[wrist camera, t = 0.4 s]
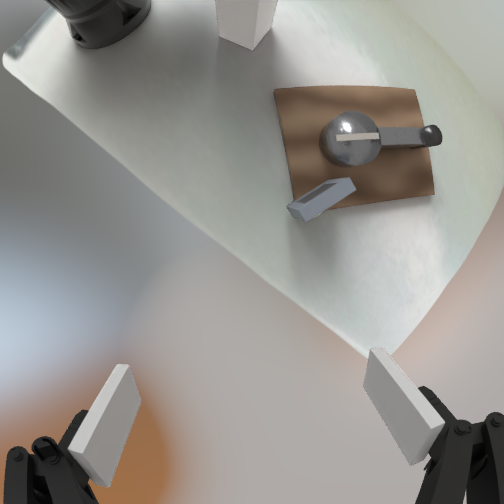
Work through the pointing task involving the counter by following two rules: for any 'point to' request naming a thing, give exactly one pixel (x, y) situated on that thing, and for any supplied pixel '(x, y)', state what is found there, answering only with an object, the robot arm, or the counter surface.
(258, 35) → the milk
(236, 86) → the counter surface
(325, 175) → the stand board
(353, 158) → the crank handle
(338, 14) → the counter surface
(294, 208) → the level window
